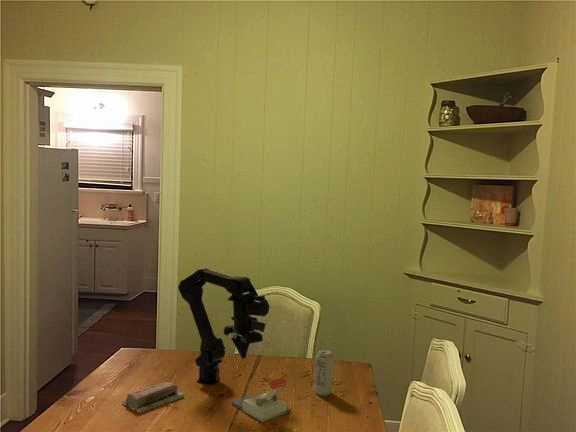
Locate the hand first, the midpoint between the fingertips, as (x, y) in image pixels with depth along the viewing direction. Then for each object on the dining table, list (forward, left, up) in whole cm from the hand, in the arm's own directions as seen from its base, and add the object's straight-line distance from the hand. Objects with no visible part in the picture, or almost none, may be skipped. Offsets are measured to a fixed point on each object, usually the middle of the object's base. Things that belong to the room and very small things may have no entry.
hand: (243, 358), depth 185 cm
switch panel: (+10, -9, -12) cm, 19 cm away
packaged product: (-24, -18, -13) cm, 33 cm away
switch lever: (+13, -12, -8) cm, 20 cm away
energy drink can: (+26, +11, -13) cm, 31 cm away
